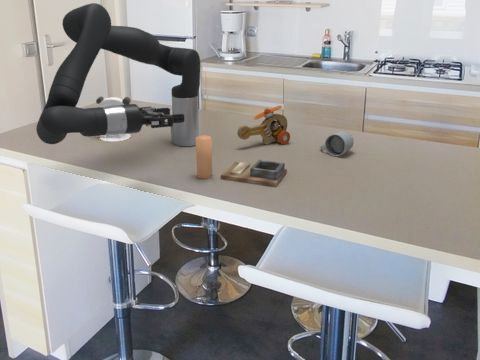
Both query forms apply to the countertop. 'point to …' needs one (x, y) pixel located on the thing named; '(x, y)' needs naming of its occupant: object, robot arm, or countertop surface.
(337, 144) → the ceramic mug
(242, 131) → the toy helicopter
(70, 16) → the robot arm
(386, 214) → the countertop surface
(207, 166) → the cylinder
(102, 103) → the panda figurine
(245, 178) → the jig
